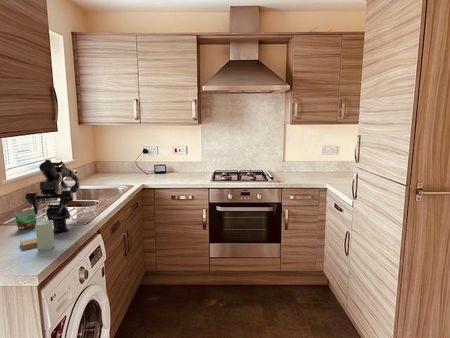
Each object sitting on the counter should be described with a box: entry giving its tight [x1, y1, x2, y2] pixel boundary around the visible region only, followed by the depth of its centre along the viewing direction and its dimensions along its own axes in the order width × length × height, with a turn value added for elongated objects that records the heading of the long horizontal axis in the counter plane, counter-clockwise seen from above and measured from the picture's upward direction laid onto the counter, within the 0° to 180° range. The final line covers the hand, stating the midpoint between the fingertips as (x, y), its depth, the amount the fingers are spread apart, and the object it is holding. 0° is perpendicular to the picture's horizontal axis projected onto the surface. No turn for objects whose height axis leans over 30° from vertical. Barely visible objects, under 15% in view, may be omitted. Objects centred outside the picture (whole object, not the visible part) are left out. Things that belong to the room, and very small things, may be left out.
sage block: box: [34, 220, 55, 251], centre depth 138 cm, size 5×5×11 cm
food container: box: [13, 204, 37, 231], centre depth 164 cm, size 12×6×10 cm, turn 170°
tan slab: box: [19, 236, 38, 251], centre depth 141 cm, size 7×7×2 cm
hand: (47, 213), depth 142 cm, fingers open, 9 cm apart
